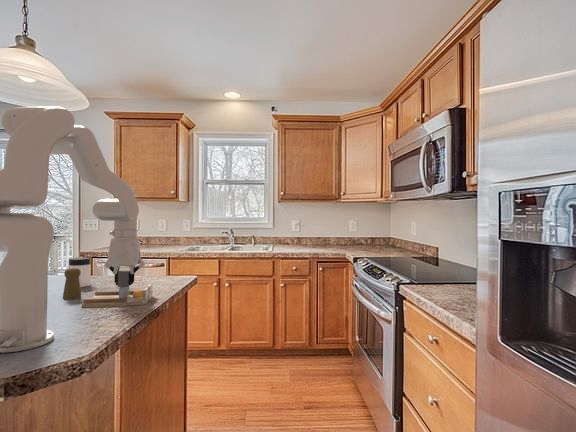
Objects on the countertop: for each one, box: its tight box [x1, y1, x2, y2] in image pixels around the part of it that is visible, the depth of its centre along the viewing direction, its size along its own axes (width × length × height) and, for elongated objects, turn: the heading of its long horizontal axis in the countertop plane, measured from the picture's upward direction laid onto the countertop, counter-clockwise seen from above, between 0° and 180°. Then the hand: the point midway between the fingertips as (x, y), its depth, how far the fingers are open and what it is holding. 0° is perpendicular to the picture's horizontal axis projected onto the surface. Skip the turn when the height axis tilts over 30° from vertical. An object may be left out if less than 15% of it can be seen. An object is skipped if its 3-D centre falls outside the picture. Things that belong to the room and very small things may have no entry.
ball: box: [133, 289, 143, 298], centre depth 123 cm, size 4×4×4 cm
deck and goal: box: [81, 283, 153, 308], centre depth 122 cm, size 14×20×5 cm
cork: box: [62, 268, 82, 300], centre depth 126 cm, size 6×6×11 cm
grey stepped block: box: [117, 269, 131, 298], centre depth 122 cm, size 7×4×9 cm, turn 11°
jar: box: [67, 256, 92, 288], centre depth 146 cm, size 9×8×12 cm
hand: (124, 284), depth 122 cm, fingers closed on grey stepped block, 3 cm apart
